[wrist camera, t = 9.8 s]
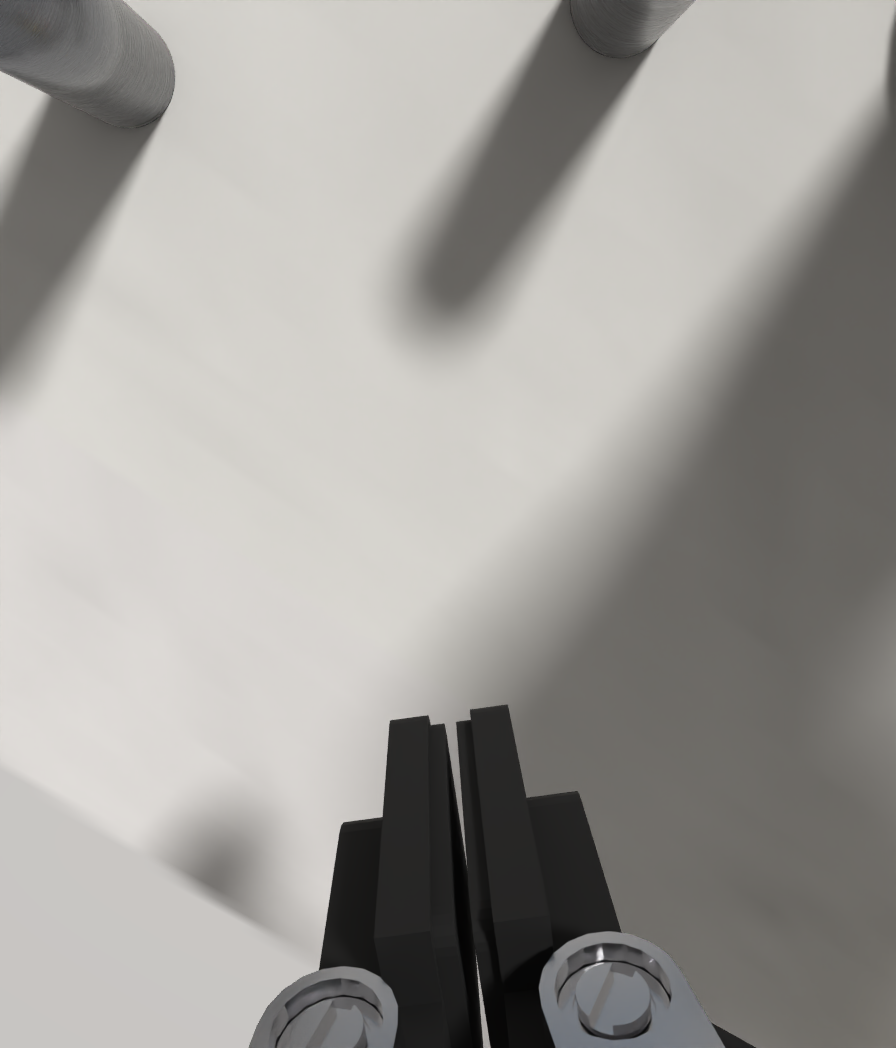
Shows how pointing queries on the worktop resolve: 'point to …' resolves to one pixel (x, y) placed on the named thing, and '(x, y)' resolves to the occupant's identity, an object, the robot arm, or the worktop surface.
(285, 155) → the worktop surface
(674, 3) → the base side post
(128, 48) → the edge side post
